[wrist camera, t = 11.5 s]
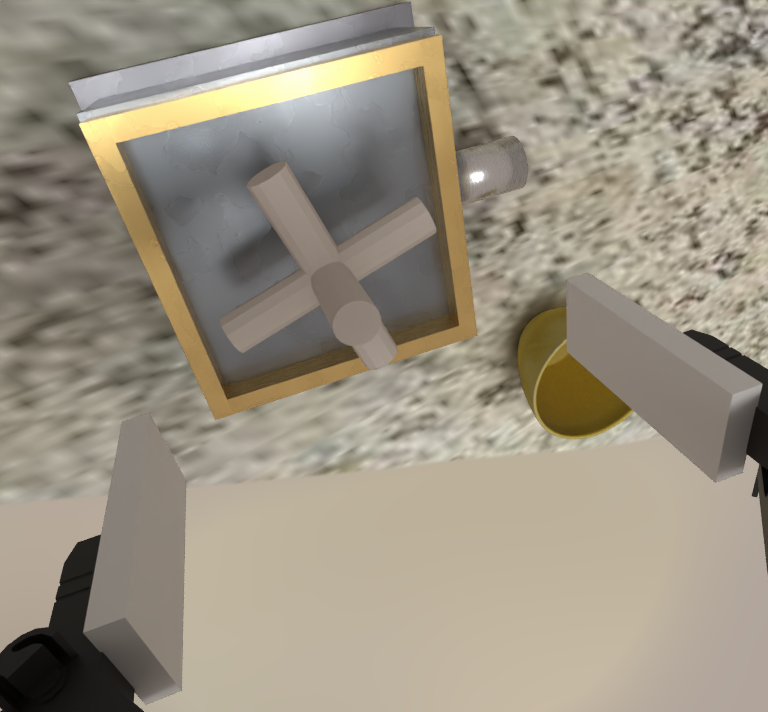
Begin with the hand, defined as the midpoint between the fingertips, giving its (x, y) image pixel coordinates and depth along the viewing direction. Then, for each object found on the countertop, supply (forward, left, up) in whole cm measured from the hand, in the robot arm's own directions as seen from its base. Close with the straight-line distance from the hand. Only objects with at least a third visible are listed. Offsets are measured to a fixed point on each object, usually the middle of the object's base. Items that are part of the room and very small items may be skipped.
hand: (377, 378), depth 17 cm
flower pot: (+16, +17, -22) cm, 32 cm away
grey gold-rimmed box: (0, +2, -21) cm, 21 cm away
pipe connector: (0, 0, -14) cm, 14 cm away
